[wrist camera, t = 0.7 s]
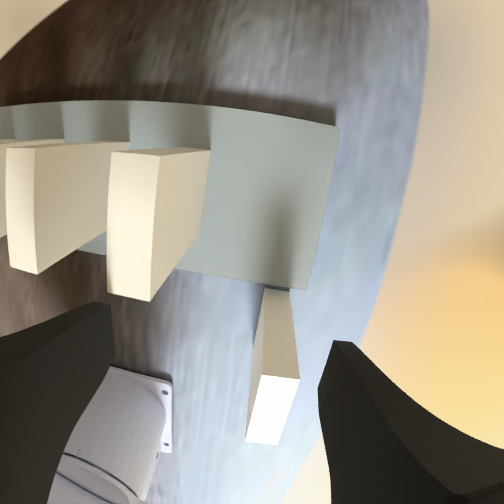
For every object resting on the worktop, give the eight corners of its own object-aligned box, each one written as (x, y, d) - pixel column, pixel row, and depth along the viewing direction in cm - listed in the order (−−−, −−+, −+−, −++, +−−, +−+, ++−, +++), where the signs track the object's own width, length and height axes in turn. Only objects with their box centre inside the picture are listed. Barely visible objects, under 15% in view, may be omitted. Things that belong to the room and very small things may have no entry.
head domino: (275, 350, 21) (276, 444, 13) (253, 347, 21) (245, 441, 13) (289, 291, 19) (299, 379, 12) (264, 287, 19) (261, 374, 12)
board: (304, 281, 19) (306, 290, 18) (1, 226, 19) (-9, 231, 18) (335, 128, 16) (340, 127, 15) (5, 108, 16) (-6, 107, 15)
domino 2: (123, 220, 17) (37, 274, 10) (100, 217, 17) (10, 266, 10) (129, 142, 16) (35, 148, 8) (106, 140, 16) (6, 148, 8)
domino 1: (60, 211, 17) (-32, 253, 10) (43, 208, 17) (-49, 247, 10) (64, 139, 16) (-37, 149, 8) (46, 138, 16) (-53, 150, 8)
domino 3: (200, 233, 17) (149, 301, 10) (173, 228, 17) (107, 292, 10) (210, 150, 16) (160, 156, 8) (182, 147, 16) (111, 151, 8)
